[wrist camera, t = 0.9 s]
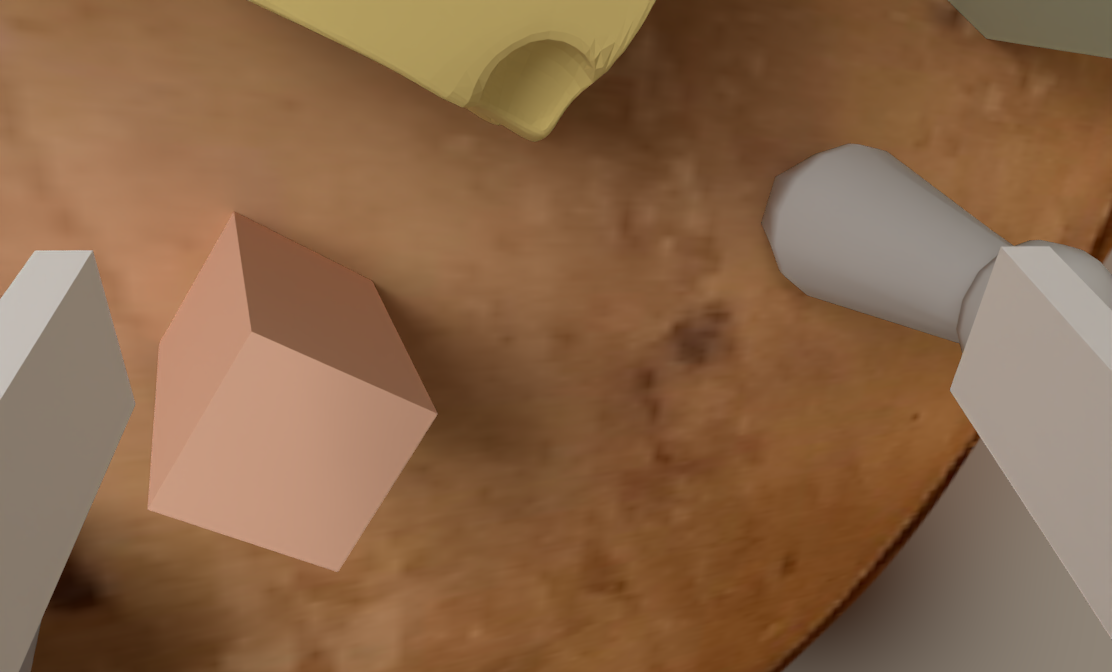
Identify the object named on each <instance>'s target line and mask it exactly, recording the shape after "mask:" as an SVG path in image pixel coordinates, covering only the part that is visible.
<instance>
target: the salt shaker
mask: <svg viewBox="0 0 1112 672" xmlns="http://www.w3.org/2000/svg"><path fill="white" fill-rule="evenodd" d="M761 224H762V226H763V228H764V231H765V233H766V235H767V237H768V240H769V242H770V244H771V247H772V250H773V253H774V256H775V259H776V262H777V265H778V268H779V271H780V272H781V273H782V274H783V275H784V276H785V277H786V278H788V279H789V280H790V281H791V282H792V283H793V284H795V285H796V286H797V287H798V288H799V289H800V290H802V291H803V292H804V293H805V294H806V295H808V296H811V297H814V298H817V299H821V300H824V301H827V302H830V303H833V304H836V305H840V306H843V307H846V308H849V309H852V310H855V311H859V312H862V313H865V314H868V315H871V316H874V317H878V318H881V319H884V320H887V321H890V322H893V323H897V324H900V325H903V326H906V327H909V328H912V329H916V330H919V331H922V332H925V333H928V334H931V335H935V336H938V337H941V338H944V339H947V340H950V341H954V342H957V343H960V346H961V350H962V353H963V351H964V349H965V346H966V343H967V340H968V337H969V335H970V332H971V329H972V326H973V323H974V320H975V318H976V315H977V312H978V309H979V306H980V304H981V301H982V298H983V295H984V292H985V290H986V287H987V284H988V281H989V278H990V275H991V273H992V270H993V267H994V264H995V261H996V259H997V256H998V253H999V250H1000V247H1014V246H1013V245H1012V244H1010V243H1009V242H1008V241H1006V240H1005V239H1003V238H1002V237H1000V236H999V235H998V234H996V233H995V232H993V231H992V230H990V229H989V228H988V227H986V226H985V225H984V224H983V223H981V222H980V221H979V220H977V219H976V218H975V217H973V216H972V215H971V214H969V213H968V212H967V211H965V210H964V209H963V208H961V207H960V206H959V205H957V204H956V203H955V202H953V201H952V200H951V199H949V198H948V197H947V196H945V195H944V194H943V193H941V192H940V191H939V190H937V189H936V188H935V187H933V186H932V185H931V184H929V183H928V182H927V181H925V180H924V179H923V178H921V177H920V176H919V175H917V174H916V173H915V172H913V171H912V170H911V169H909V168H908V167H907V166H906V165H904V164H903V163H902V162H900V161H899V160H898V159H896V158H895V157H894V156H892V155H891V154H890V153H888V152H887V151H884V150H880V149H876V148H872V147H868V146H864V145H860V144H845V145H842V146H839V147H836V148H833V149H829V150H826V151H823V152H820V153H817V154H814V155H812V156H811V157H809V158H807V159H806V160H804V161H802V162H800V163H799V164H797V165H795V166H793V167H792V168H790V169H788V170H787V171H785V172H783V173H781V174H780V175H778V176H776V177H775V180H774V183H773V186H772V189H771V193H770V196H769V199H768V202H767V205H766V209H765V212H764V215H763V218H762V222H761ZM1016 246H1050V247H1051V248H1052V249H1053V251H1054V252H1055V253H1056V254H1057V255H1058V256H1059V257H1060V258H1061V259H1062V260H1063V261H1064V262H1065V263H1066V264H1067V265H1068V266H1069V267H1070V268H1071V269H1072V270H1073V271H1074V272H1075V273H1076V274H1077V275H1078V276H1079V277H1080V278H1081V279H1082V280H1083V281H1084V282H1085V283H1086V284H1087V286H1088V287H1089V288H1090V289H1091V290H1092V291H1093V292H1094V293H1095V294H1096V295H1097V296H1098V297H1099V298H1100V299H1101V300H1102V301H1103V302H1104V303H1105V304H1106V305H1107V306H1108V307H1109V308H1110V309H1111V310H1112V274H1111V273H1110V272H1109V271H1108V270H1107V269H1106V268H1105V267H1104V265H1103V264H1102V263H1101V262H1100V261H1099V260H1097V259H1095V258H1094V257H1092V256H1091V255H1089V254H1088V253H1086V252H1085V251H1083V250H1080V249H1077V248H1073V247H1070V246H1066V245H1063V244H1058V243H1053V242H1048V241H1043V240H1029V241H1027V242H1024V243H1021V244H1019V245H1016Z"/></svg>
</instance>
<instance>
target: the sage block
mask: <svg viewBox="0 0 1112 672" xmlns="http://www.w3.org/2000/svg"><path fill="white" fill-rule="evenodd" d="M948 1H949V2H950V3H951V4H952V5H953V6H954V7H955V8H956V9H957V10H958V11H959V12H960V13H961V14H962V15H963V16H964V17H965V18H966V19H967V20H968V21H969V22H970V23H971V24H972V25H973V26H974V27H975V28H976V29H977V30H978V31H979V32H980V33H981V34H982V35H983V36H984V37H985V38H986V39H992V40H998V41H1004V42H1011V43H1017V44H1023V45H1029V46H1036V47H1042V48H1048V49H1055V50H1061V51H1067V52H1074V53H1080V54H1086V55H1093V56H1099V57H1105V58H1112V0H948Z"/></svg>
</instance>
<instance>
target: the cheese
mask: <svg viewBox="0 0 1112 672" xmlns="http://www.w3.org/2000/svg"><path fill="white" fill-rule="evenodd" d="M248 1H250V2H252V3H254V4H256V5H259V6H261V7H263V8H265V9H267V10H269V11H271V12H274V13H276V14H278V15H280V16H282V17H284V18H286V19H288V20H291V21H293V22H295V23H297V24H299V25H301V26H303V27H306V28H308V29H310V30H312V31H314V32H316V33H318V34H320V35H323V36H325V37H327V38H329V39H331V40H333V41H335V42H337V43H339V44H341V45H343V46H345V47H347V48H350V49H352V50H354V51H356V52H358V53H360V54H362V55H364V56H366V57H368V58H370V59H372V60H374V61H376V62H377V63H379V64H381V65H383V66H385V67H387V68H389V69H391V70H393V71H395V72H397V73H398V74H400V75H402V76H404V77H406V78H408V79H409V80H411V81H413V82H415V83H417V84H418V85H420V86H422V87H423V88H425V89H427V90H428V91H430V92H432V93H434V94H435V95H437V96H439V97H440V98H442V99H445V100H447V101H449V102H451V103H453V104H456V105H458V106H460V107H465V108H466V109H468V110H469V111H471V112H472V113H474V114H475V115H477V116H478V117H480V118H481V119H483V120H485V121H487V122H489V123H491V124H495V125H498V126H499V125H500V124H501V125H503V126H504V127H506V128H508V129H509V130H511V131H512V132H514V133H516V134H518V135H519V136H521V137H523V138H525V139H527V140H530V141H533V142H536V141H539V140H542V139H544V138H545V137H546V136H548V135H549V134H550V133H551V131H552V130H553V129H554V127H555V125H556V124H557V122H558V121H559V119H560V117H561V116H562V114H563V113H564V111H565V110H566V108H567V107H568V106H569V105H570V104H571V102H572V101H573V100H574V99H575V98H576V97H577V96H578V95H579V94H580V93H581V92H582V91H583V90H585V89H586V88H587V87H588V86H590V85H591V84H592V83H593V82H595V81H596V80H597V79H598V78H600V77H601V76H602V75H603V74H605V73H606V72H607V71H608V70H609V69H610V68H611V66H612V65H613V64H614V62H615V61H616V60H617V59H618V58H619V57H620V56H621V55H622V54H623V53H624V51H625V50H626V48H627V47H628V45H629V44H630V42H631V41H632V39H633V38H634V36H635V35H636V33H637V32H638V30H639V29H640V28H641V26H642V24H643V23H644V21H645V19H646V17H647V15H648V14H649V12H650V10H651V8H652V7H653V5H654V3H655V1H656V0H248Z"/></svg>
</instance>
